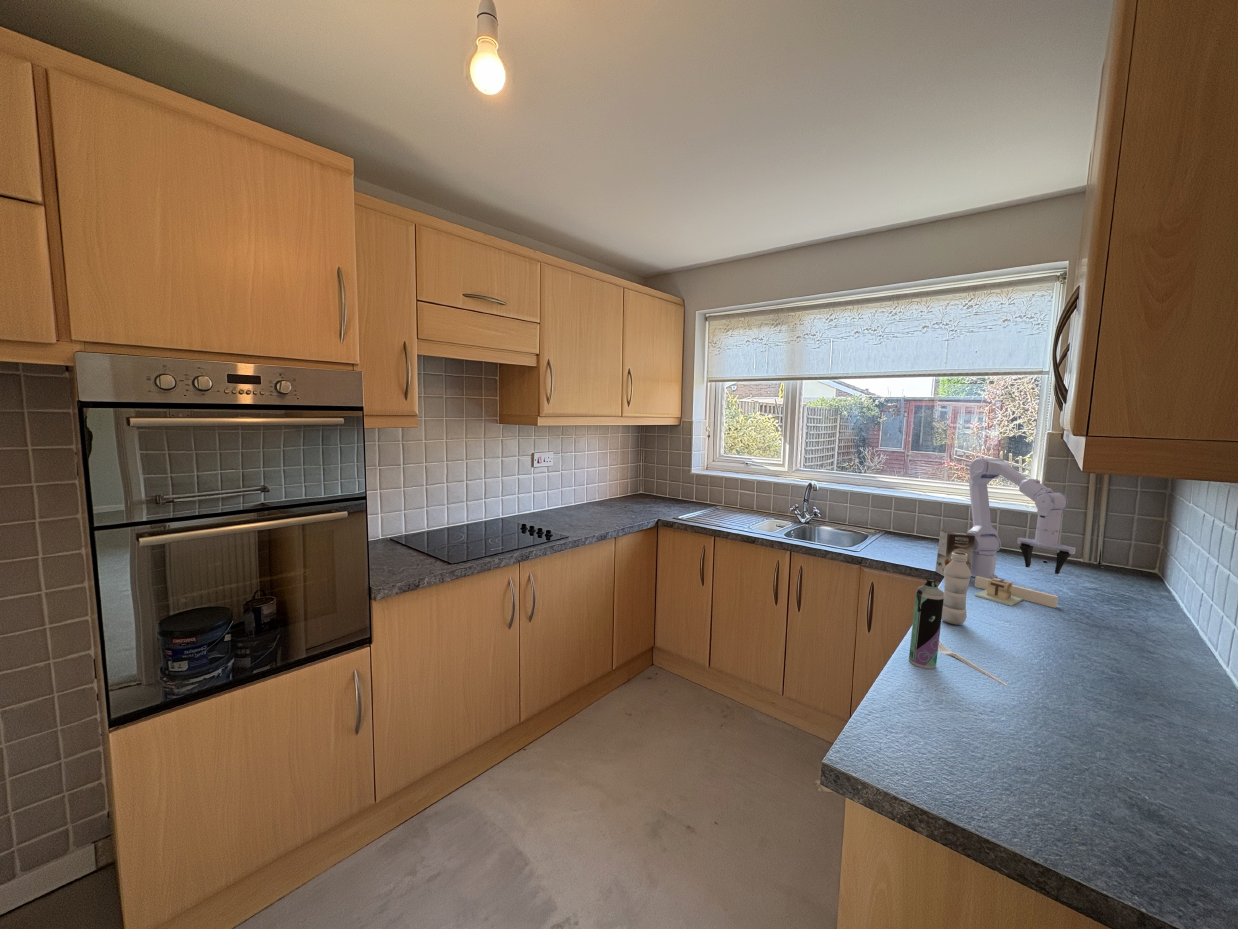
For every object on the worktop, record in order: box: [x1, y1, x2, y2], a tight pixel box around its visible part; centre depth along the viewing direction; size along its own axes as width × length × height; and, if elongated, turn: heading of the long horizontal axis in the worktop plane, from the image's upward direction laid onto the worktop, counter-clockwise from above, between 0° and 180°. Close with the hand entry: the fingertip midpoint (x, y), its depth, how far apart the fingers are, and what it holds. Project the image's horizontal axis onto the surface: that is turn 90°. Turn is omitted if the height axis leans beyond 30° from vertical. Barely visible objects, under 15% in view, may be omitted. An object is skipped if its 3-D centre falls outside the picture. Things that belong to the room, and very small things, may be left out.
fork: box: [938, 640, 1009, 687], centre depth 119 cm, size 3×20×2 cm, turn 13°
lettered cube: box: [987, 577, 1014, 600], centre depth 165 cm, size 5×5×5 cm
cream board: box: [974, 576, 1059, 609], centre depth 168 cm, size 2×22×4 cm, turn 36°
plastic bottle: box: [941, 552, 972, 626], centre depth 142 cm, size 6×7×20 cm
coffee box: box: [934, 529, 975, 577], centre depth 188 cm, size 9×6×16 cm
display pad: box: [974, 589, 1023, 607], centre depth 165 cm, size 10×10×1 cm
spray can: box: [908, 579, 944, 670], centre depth 117 cm, size 6×6×20 cm
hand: (1042, 570), depth 166 cm, fingers open, 7 cm apart
